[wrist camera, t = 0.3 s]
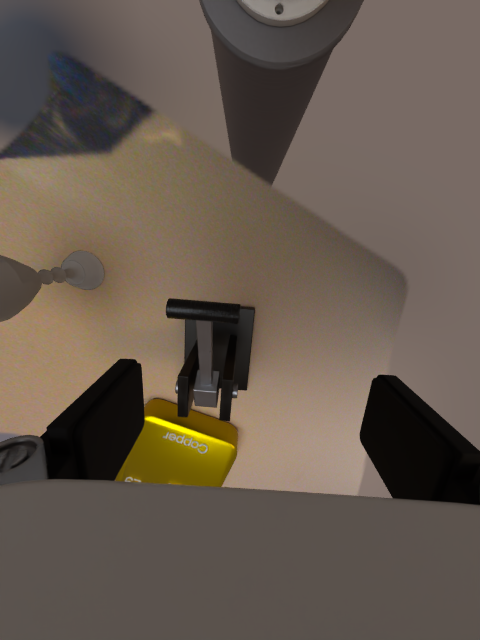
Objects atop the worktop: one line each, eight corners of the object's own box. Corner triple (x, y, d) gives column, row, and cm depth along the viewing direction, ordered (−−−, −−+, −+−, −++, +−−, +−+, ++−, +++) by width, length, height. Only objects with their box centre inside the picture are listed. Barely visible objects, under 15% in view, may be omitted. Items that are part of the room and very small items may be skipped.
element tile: (242, 426, 40) (241, 450, 35) (208, 494, 44) (204, 523, 39) (149, 393, 38) (136, 414, 34) (124, 466, 42) (109, 493, 38)
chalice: (114, 250, 32) (-36, 257, 15) (110, 301, 34) (-27, 359, 17) (56, 237, 32) (-165, 229, 15) (55, 289, 34) (-141, 336, 17)
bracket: (187, 301, 34) (154, 334, 22) (254, 307, 34) (259, 342, 22) (185, 381, 37) (156, 447, 25) (246, 386, 37) (247, 455, 25)
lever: (171, 290, 19) (162, 311, 17) (241, 296, 19) (239, 317, 17) (184, 384, 27) (179, 404, 25) (233, 388, 27) (231, 409, 25)
